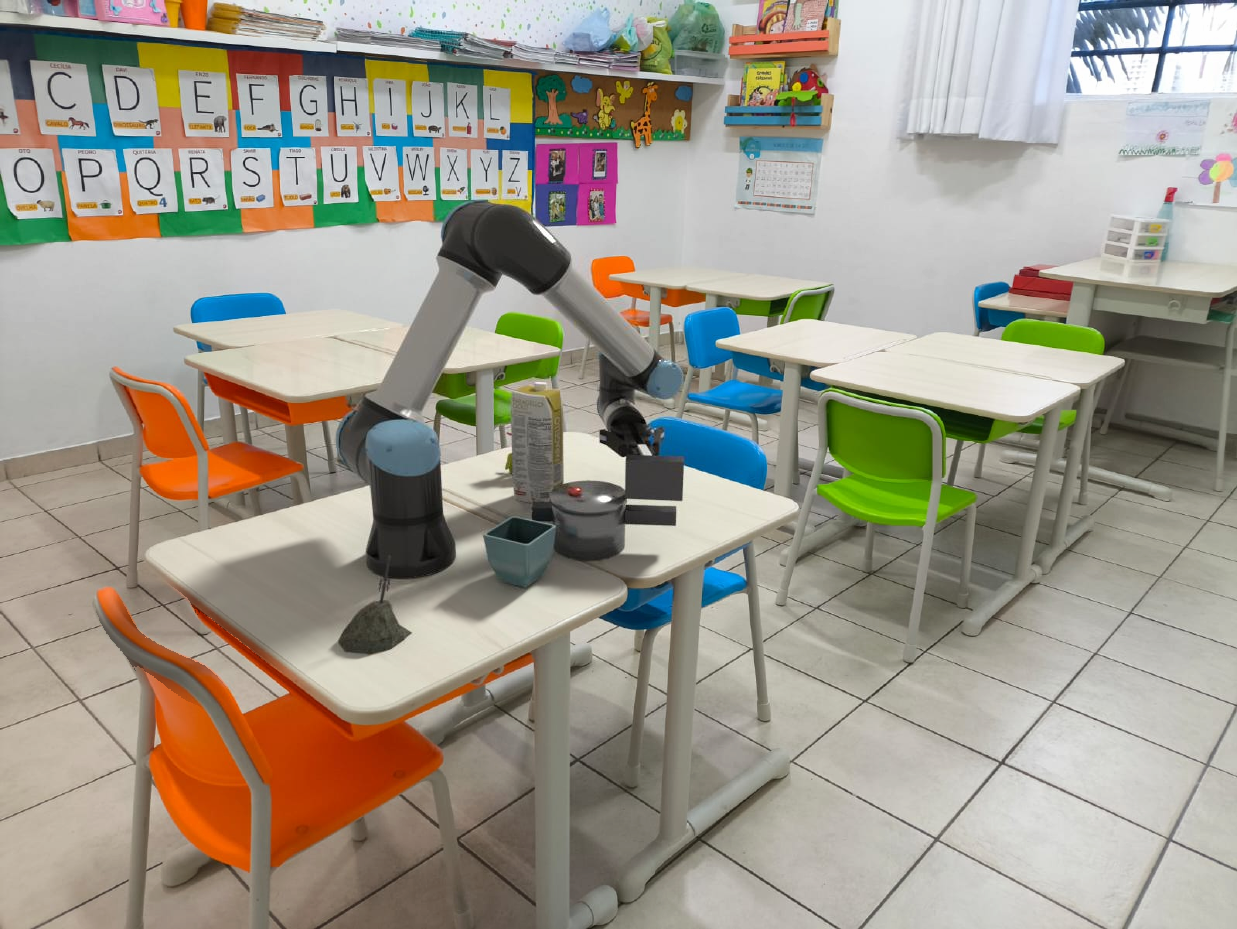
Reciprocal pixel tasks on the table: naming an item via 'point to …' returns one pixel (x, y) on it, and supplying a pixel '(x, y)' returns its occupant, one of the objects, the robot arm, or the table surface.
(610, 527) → the pot
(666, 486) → the lid
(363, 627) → the sword in stone
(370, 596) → the table surface
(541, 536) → the flower pot
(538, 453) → the juice carton
